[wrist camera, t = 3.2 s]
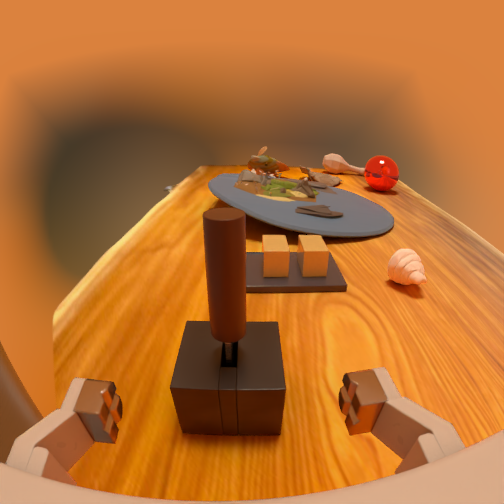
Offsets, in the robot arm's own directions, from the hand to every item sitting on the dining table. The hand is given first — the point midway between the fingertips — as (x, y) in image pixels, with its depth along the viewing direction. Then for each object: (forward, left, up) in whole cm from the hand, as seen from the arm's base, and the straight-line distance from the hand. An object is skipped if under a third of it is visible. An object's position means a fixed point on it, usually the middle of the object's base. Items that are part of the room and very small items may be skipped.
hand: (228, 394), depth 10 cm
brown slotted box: (-1, +11, -14) cm, 18 cm away
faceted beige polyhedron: (+39, +119, -14) cm, 126 cm away
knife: (-1, +11, -14) cm, 18 cm away
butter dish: (+7, +35, -14) cm, 39 cm away
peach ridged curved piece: (+24, +30, -14) cm, 41 cm away
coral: (+25, +101, -14) cm, 106 cm away
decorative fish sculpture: (+7, +105, -14) cm, 107 cm away
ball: (+44, +92, -14) cm, 104 cm away
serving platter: (+13, +67, -14) cm, 70 cm away
